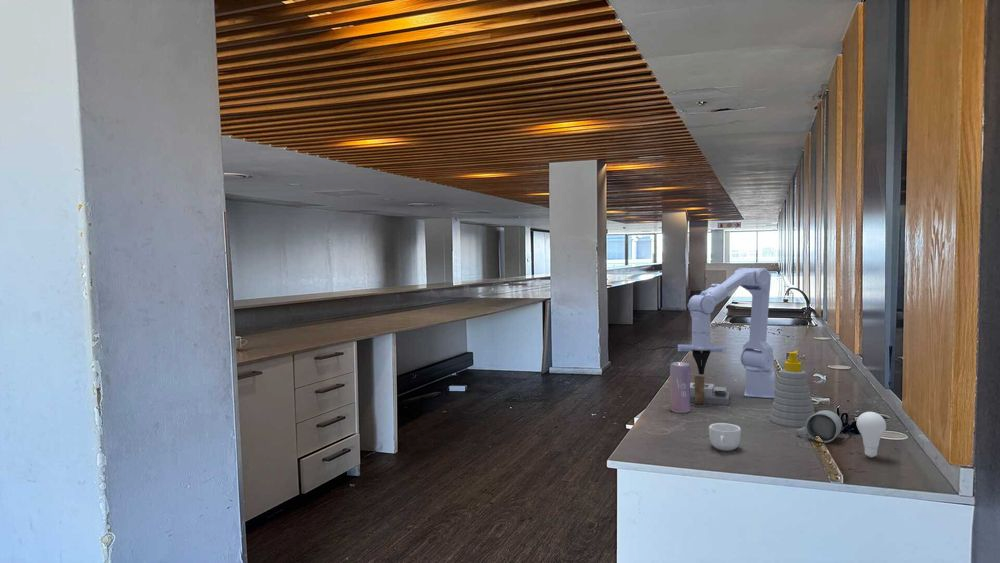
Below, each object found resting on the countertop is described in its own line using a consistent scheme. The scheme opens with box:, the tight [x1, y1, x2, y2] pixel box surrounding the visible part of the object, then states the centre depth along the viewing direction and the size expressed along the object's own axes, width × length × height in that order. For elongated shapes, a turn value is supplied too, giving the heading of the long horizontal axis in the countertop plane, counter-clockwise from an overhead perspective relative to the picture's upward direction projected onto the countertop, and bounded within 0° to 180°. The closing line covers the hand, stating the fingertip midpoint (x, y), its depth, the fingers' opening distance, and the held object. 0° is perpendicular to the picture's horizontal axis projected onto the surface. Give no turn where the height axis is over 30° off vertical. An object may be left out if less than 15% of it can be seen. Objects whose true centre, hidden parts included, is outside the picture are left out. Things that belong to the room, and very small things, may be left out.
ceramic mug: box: [795, 409, 843, 444], centre depth 167 cm, size 11×8×8 cm
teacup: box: [708, 422, 742, 452], centre depth 159 cm, size 10×8×5 cm
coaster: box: [692, 402, 708, 408], centre depth 204 cm, size 5×5×1 cm
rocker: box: [714, 386, 728, 392], centre depth 210 cm, size 4×7×1 cm, turn 157°
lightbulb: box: [856, 411, 887, 458], centre depth 151 cm, size 6×6×11 cm
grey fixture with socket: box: [690, 382, 731, 406], centre depth 211 cm, size 13×11×5 cm
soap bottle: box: [769, 350, 816, 428], centre depth 183 cm, size 12×12×20 cm
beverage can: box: [669, 361, 691, 414], centre depth 197 cm, size 6×6×15 cm
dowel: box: [694, 375, 705, 406], centre depth 203 cm, size 3×3×9 cm
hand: (701, 373), depth 203 cm, fingers closed
